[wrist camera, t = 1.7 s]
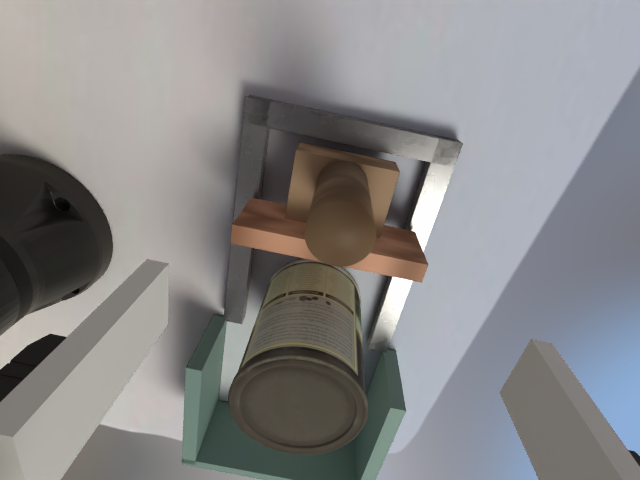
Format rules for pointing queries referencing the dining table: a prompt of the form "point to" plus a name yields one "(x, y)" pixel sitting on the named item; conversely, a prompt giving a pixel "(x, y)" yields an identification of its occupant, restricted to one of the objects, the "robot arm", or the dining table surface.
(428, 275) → the dining table surface
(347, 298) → the coffee can
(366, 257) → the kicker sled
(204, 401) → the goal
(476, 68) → the dining table surface
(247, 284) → the track
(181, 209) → the dining table surface
